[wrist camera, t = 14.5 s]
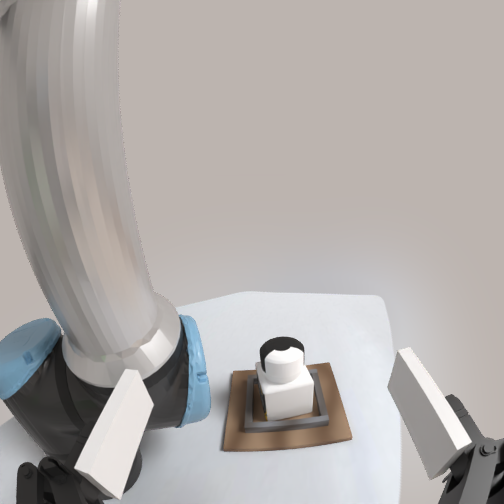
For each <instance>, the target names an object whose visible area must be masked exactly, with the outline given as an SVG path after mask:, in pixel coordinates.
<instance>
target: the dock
mask: <svg viewBox="0 0 504 504" xmlns="http://www.w3.org/2000/svg"><path fill="white" fill-rule="evenodd" d="M306 367H307V369H308V371H309V373H310V375H311V377H312V379H313V381H314V390H313V407H312V412H311V413H307V414H303V415H299V416H295V417H291V418H286V419H282V420H277V421H269V422H267V421H266V418H265V414H264V410H263V406H262V402H261V399H260V395H259V389H258V381H257V374H256V370H244V371H233V377H232V385H231V392H230V400H229V408H228V416H227V424H226V431H225V439H224V447H223V449H224V451H271V450H285V449H296V448H305V447H312V446H319V445H326V444H332V443H337V442H343V441H348V440H352V434H351V430H350V427H349V424H348V420H347V417H346V414H345V410H344V407H343V404H342V400H341V397H340V394H339V391H338V388H337V384H336V381H335V378H334V375H333V372H332V369H331V366H330V363H329V362H328V363H321V364H314V365H306Z"/></svg>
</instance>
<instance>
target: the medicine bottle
mask: <svg viewBox="0 0 504 504" xmlns="http://www.w3.org/2000/svg"><path fill="white" fill-rule="evenodd" d="M260 359H261V362H257V363H256V364H255V366H256V374H257V381H258V389H259V395H260V399H261V402H262V406H263V410H264V414H265V418H266V421H267V422H269V421H277V420H282V419H286V418H291V417H295V416H299V415H303V414H307V413H311V412H312V407H313V390H314V381H313V379H312V377H311V375H310V373H309V371H308V369H307V367H306V365H305V364H304V346H303V344H302V343H301V342H299V341H298V340H296V339H294V338H291V337H276V338H273V339H270V340H268V341H267V342H265V343H264V344H263V345H262V347H261V348H260Z"/></svg>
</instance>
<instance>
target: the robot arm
mask: <svg viewBox="0 0 504 504" xmlns="http://www.w3.org/2000/svg"><path fill="white" fill-rule="evenodd" d="M120 2H121V0H0V165H1V171H2V175H3V180H4V184H5V189H6V193H7V196H8V200H9V204H10V208H11V211H12V215H13V217H14V221H15V224H16V227H17V230H18V233H19V236H20V239H21V242H22V244H23V247H24V250H25V252H26V254H27V257H28V260H29V262H30V265H31V267H32V269H33V271H34V274H35V276H36V278H37V281H38V283H39V285H40V287H41V289H42V291H43V293H44V295H45V297H46V299H47V301H48V303H49V305H50V307H51V309H52V311H53V312H54V314H55V316H56V318H57V320H58V321H59V323H60V325H61V327H62V328H63V330H64V335H62V334H61V329H60V327H59V326H58V325H57V324H56V322H55V321H53V320H51V319H49V318H43V319H37V320H34V321H31V322H29V323H27V324H24V325H22V326H21V327H19V328H17V329H16V330H14V331H13V332H11V333H10V334H8V335H7V336H6V337H5V338H4V339H3V340H1V342H0V398H1V399H2V400H3V401H4V403H5V404H6V406H7V407H8V408H9V409H10V411H11V412H12V414H13V415H14V416H15V418H16V419H17V420H18V422H19V423H20V424H21V425H22V427H23V428H24V429H25V430H26V431H27V433H28V434H29V435H30V436H31V437H32V438H33V439H34V441H35V442H36V443H37V444H38V445H39V446H40V447H41V448H42V449H43V450H44V452H45V453H46V455H47V457H45V458H43V459H42V460H41V461H40V463H39V465H38V468H37V467H36V466H34V465H33V464H32V463H29V462H25V463H23V464H21V465H20V467H19V468H18V473H17V493H16V504H104V503H103V501H102V500H108V499H112V498H115V499H119V500H121V497H122V494H123V493H125V492H126V491H128V490H129V489H130V488H131V487H132V486H133V485H134V483H135V482H136V480H137V479H138V477H139V474H140V471H141V466H142V458H141V453H140V450H139V448H138V447H139V444H140V441H141V438H142V435H143V433H144V431H146V430H155V429H162V428H169V427H175V428H181V427H182V426H184V425H186V424H190V423H194V422H198V421H201V420H203V419H205V418H206V417H207V416H208V414H209V412H210V408H211V397H210V387H209V381H208V377H207V375H206V373H207V371H206V362H205V357H204V352H203V347H202V343H201V338H200V334H199V331H198V328H197V325H196V322H195V320H194V319H193V318H192V317H191V316H183V315H178V313H177V311H176V309H175V307H174V306H173V304H172V303H171V302H170V301H169V300H168V299H166V298H165V297H163V296H162V295H160V294H158V293H155V292H154V291H153V287H152V284H151V280H150V276H149V273H148V269H147V265H146V261H145V257H144V253H143V249H142V244H141V240H140V236H139V232H138V227H137V222H136V217H135V212H134V207H133V202H132V196H131V190H130V184H129V178H128V172H127V166H126V158H125V150H124V142H123V133H122V123H121V111H120V97H119V75H118V35H119V34H118V32H119V15H120ZM387 388H388V390H389V392H390V394H391V396H392V398H393V400H394V402H395V404H396V406H397V408H398V410H399V412H400V414H401V416H402V418H403V420H404V422H405V425H406V427H407V429H408V431H409V433H410V435H411V437H412V440H413V442H414V444H415V446H416V449H417V451H418V453H419V455H420V458H421V460H422V463H423V465H424V467H425V470H426V472H427V474H428V477H429V479H430V480H431V479H434V478H436V477H438V476H440V475H442V474H444V473H445V472H446V471H447V470H448V468H450V470H451V472H450V473H449V474H448V475H447V476H446V477H445V478H444V480H443V481H442V482H443V483H444V482H445V481H446V480H447V479H448V480H447V483H446V485H445V488H444V491H443V493H442V496H441V498H440V500H439V503H438V504H504V438H503V439H500V440H494V439H491V438H485V437H484V436H483V435H482V434H481V432H480V430H479V429H478V427H477V426H476V424H475V422H474V421H473V419H472V418H471V416H470V415H468V412H467V410H466V409H465V408H464V406H463V404H462V403H461V401H460V400H459V399H458V398H457V397H455V396H454V395H452V394H451V395H448V396H446V397H444V396H443V394H442V393H441V391H440V390H439V388H438V387H437V385H436V384H435V382H434V381H433V379H432V378H431V376H430V375H429V373H428V372H427V370H426V369H425V368H424V366H423V365H422V363H421V362H420V360H419V359H418V358H417V356H416V355H415V354H414V352H413V351H412V349H411V348H410V347H409V348H405V349H401V350H398V351H397V355H396V359H395V363H394V366H393V370H392V373H391V377H390V380H389V383H388V387H387Z"/></svg>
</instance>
